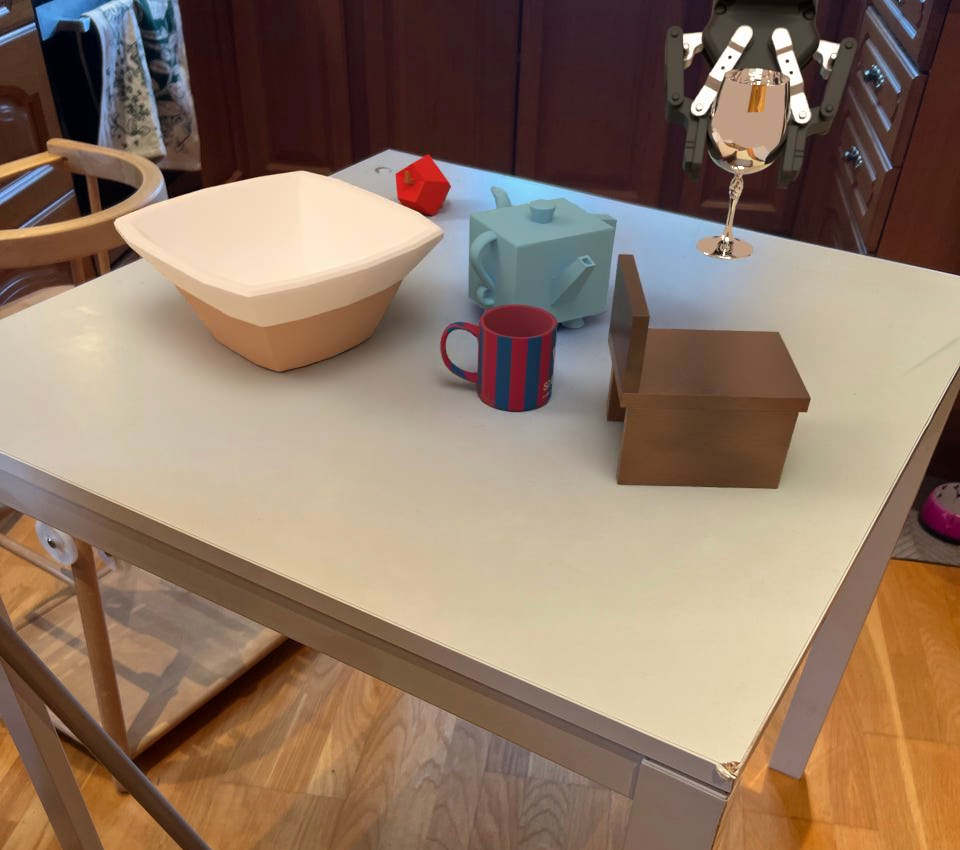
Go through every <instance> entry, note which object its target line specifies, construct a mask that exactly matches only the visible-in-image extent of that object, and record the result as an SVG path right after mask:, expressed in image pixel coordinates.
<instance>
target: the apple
mask: <svg viewBox="0 0 960 850" xmlns="http://www.w3.org/2000/svg"><path fill="white" fill-rule="evenodd" d="M394 175H395V186H396V197H397V200H398V201H399V204H400V205H403V206H405V207H407V208H410V209H412V210H414V211H417V212H419V213H420V214H422V215H427V216H431V217H434V216H435V215H436V214H437V213H438V212H439V211H440V209H442V207H443V206H444V203H445V200H446V199H447V196H448V194H449V192H450V190H451V188H452V186H451V184H450V181H449V180H448V179H447V178H446V176H445V174H444V173H443V172H442V170H441V169H440V168H439V166H438V165H437V163H436V162H435V161H434V159H433V158H432V156H431V155H430V154H429V153H428V154H425V155H424V156H423V157H421V158H419V159H416V161H413V162H412V163H411V164H409V165H406V167H404V168H402V169H401V170H398V171H397V172H396V173H395V174H394Z"/></svg>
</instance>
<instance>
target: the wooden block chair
mask: <svg viewBox="0 0 960 850" xmlns="http://www.w3.org/2000/svg"><path fill="white" fill-rule="evenodd" d="M650 321H651V314H650V310H649V306H648V303H647V299H646V296H645V292H644V288H643V285H642V282H641V277H640V273H639V270H638V267H637V262H636V260H635V256H634V254H633V253H632V254H630V253H629V254H628V253H619V254H618V255H617V263H616V271H615V280H614V287H613V296H612V304H611V312H610V320H609V327H608V337H607V343H608V349H609V355H610V359H611V370H610V376H609V377H610V378H609V386H608V392H607V400H606V401H607V403H606V409H605V417H606V420H607V421H614V422H615V421H617V422H619V421H620V422H623V426H622V433H621V439H620V440H621V441H620V447H619V454H618V461H617V468H616V475H615V477H616V482H617V485H636V486H637V485H639V486H640V485H642V486H676V487H678V486H680V487H713V488H714V487H717V488H753V489H754V488H756V489H778V488H779V485H780V481H781V478H782V474H783V471H784V467H785V463H786V461H787V457H788V453H789V450H790V446H791V442H792V439H793V435H794V432H795V427H796V425H797V421H798V417H799V414H800V413H808V410H809V407H810V404H811V400H812V398H811V395H810V393H809V391H808V389H807V387H806V385H805V383H804V381H803V379H802V377H801V375H800V374H801V373H800V372H799V371H798V368H797V366H796V365H795V362H794V360H793V358H792V356H791V353H790V352H789V350H788V347H787V346H786V344H785V341H784V339H783V337H782V334H781V333H780V331H769V330H768V331H765V330H763V331H762V330H727V329H725V330H724V329H722V330H721V329H696V328H695V329H690V328H689V329H688V328H655V327H654V328H653V327H650Z"/></svg>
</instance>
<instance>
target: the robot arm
mask: <svg viewBox="0 0 960 850" xmlns="http://www.w3.org/2000/svg"><path fill="white" fill-rule="evenodd" d="M818 6H819V0H713V1H712V8H711V15H710V19H709V21H708V23H707V24H706V25H705V26H704V28H703V29H702V31H698V32H697V31H696V32H687V33H684V30H683V28H682V27H681V26H680V25H671V26H670V27H669V28H668V29H667V30H666V34H665V35H666V36H665V45H664V54H663V59H664V61H663V63H664V64H663V65H664V67H663V69H664V119H665V121H666V122H667V123H668V124H672V125H675V124H679V125H682V126H683V128H685V131H686V136H685V137H686V138H685V144H684V151H683V157H682V162H681V163H682V164H681V166H682V169H683V172H684V173H690V174H689V181H693V182H699V181H700V177H701V174H702V173H701V172H702V167H703V161H704V154H705V147H706V133H707V126H708V119H709V115H710V111H711V108H712V105H713V102H714V99H715V96H716V93H717V90H718V87H719V85H720V83H721V80H722V78H723V76H724V73H725V72H727V71H729V70H734V69H743V68H754V69H765V70H772V71H776V72H780V73H783V74H786V75H787V76H789V77H790V78H791V110H790V123H789V129H788V134H787V138H786V141H785V144H784V147H783V149H782V151H781V153H780V160H779V168H778V176H777V182H776V189H782V190H783V189H784V190H785V189H788V186H789V183H790V182H795V181H796V180H797V178H798V176H799V174H800V172H801V170H802V167H803V163H804V156H805V149H806V142H807V138H808V137H809V136H812V135H817V136H825V135H827V134H828V133H829V132H830V129H831V128H832V124H833V122H834V118H835V117H836V115H837V113H838V111H839V107H840V105H841V100H842V97H843V95H844V92H845V88H846V86H847V82H848V79H849V76H850V72H851V69H852V65H853V62H854V59H855V56H856V53H857V50H858V41H857V39H855V38H854V37H851V36H847V37H845V38H843V39H842V40H841V42H840V43H837V42H834V41H828V40H824V39H821V36H820V33H819V31H818V29H817V23H816V20H817V15H818V14H817V12H818ZM698 53H701V56H702V57H703V59H704V61H705V62H706V64H707V67H708V68H709V69H710V72H709V74H708V76H707V78H706V80H705V83H704V85H703V87H702V88H701V89H700V90H699V93H698V94H697V95H696V97H695V99H692V98H690V97H688V96H686V95H685V70H686V69H687V68H689V67H690V66H691V65H692V63H693V59H694V57H695V55H697V54H698ZM813 61H816V62H818V64H819V74H820V75H821V77H822V79H823V80H827V81H826V85H825V87H824V90H823V93H822V97H821V100H820V103H819V106H815V107H810V105H809V103H808V99H807V96H806V92H805V82H804V78H803V76H802V73H803V72H804V70H806V69H807V68H808V66H810V65H811V64H812V62H813ZM744 81H748V80H744ZM760 81H761V80H760Z"/></svg>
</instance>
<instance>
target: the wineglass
mask: <svg viewBox="0 0 960 850" xmlns="http://www.w3.org/2000/svg"><path fill="white" fill-rule="evenodd" d="M744 80H748V81H744ZM760 80H761V81H760ZM790 110H791V78H790V77H789V76H787V75H786V74H783V73H780V72H776V71H772V70H765V69H754V68H743V69H734V70H729V71H727V72H725V73H724V76H723V78H722V80H721V83H720V85H719V87H718V90H717V93H716V96H715V99H714V102H713V105H712V108H711V111H710V115H709V119H708V126H707V133H706V140H705V145H706V150H707V153H708V155H709V158H710V159H711V160H712V161H713V163H715V164H716V166H718V167H720V168H721V169H722V170H724V171H726V172H728V173H731V174H734V176H733V178H732V179H731V181H730V184H729V187H728V195H729V205H728V212H727V213H728V214H727V218H726V222H725V223H726V224H725V227H724V229H723V232H722V233H721V234H720V235H713V236H707V237H704V238H701V239H699V240H698V241H697V242H696V244H695V245H696V246H695V248H696V249H697V251H698V252H700V253H701V254H703V255H705V256H707V257H710V258H715V259H721V260H741V259H746V258H748V257H750V256H752V255H753V254H754V247H753V245H752V244H751V243H749V242H748V241H745V240H743V239H740V238H737V237H734V235H733V223H734V217H735V212H736V207H737V205H738V202H739V199H740V196H741V194H742V192H743V189H744V179H743V176H744V175H751V174H755V173H758V172H760V171H762V170H765V169H766V168H769V167H770V166H771V165H772V164H774V163H775V161H777V159H778V158H779V156H781V153H782V149H783V147H784V144H785V141H786V138H787V134H788V129H789V123H790Z"/></svg>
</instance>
